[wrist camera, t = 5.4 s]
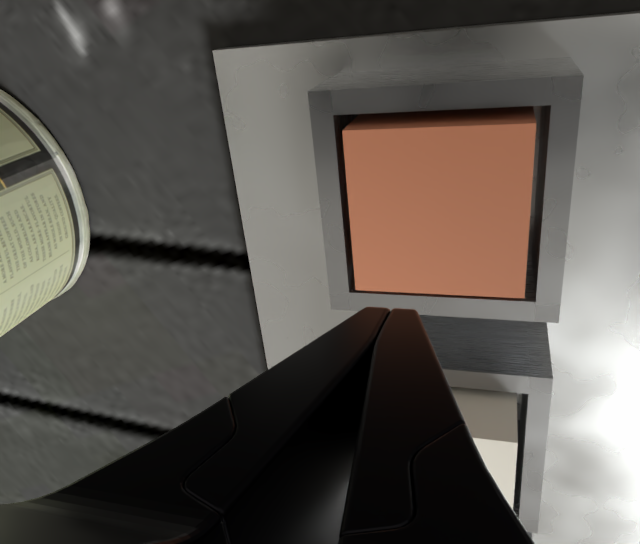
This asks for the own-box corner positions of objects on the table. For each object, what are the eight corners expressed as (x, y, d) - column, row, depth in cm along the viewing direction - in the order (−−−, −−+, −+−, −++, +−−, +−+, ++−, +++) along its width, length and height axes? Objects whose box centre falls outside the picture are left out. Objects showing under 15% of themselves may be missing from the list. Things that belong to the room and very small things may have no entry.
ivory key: (516, 374, 17) (517, 443, 15) (509, 478, 19) (509, 555, 17) (375, 361, 19) (354, 423, 16) (381, 460, 20) (364, 530, 18)
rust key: (531, 97, 15) (536, 123, 12) (521, 249, 17) (524, 298, 14) (368, 105, 16) (341, 130, 14) (376, 245, 18) (355, 290, 16)
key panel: (745, 1, 14) (819, 10, 10) (616, 617, 24) (632, 715, 21) (223, 47, 18) (160, 63, 15) (307, 555, 28) (282, 630, 25)
